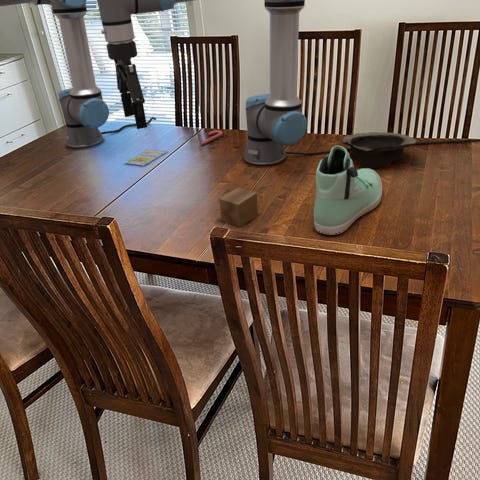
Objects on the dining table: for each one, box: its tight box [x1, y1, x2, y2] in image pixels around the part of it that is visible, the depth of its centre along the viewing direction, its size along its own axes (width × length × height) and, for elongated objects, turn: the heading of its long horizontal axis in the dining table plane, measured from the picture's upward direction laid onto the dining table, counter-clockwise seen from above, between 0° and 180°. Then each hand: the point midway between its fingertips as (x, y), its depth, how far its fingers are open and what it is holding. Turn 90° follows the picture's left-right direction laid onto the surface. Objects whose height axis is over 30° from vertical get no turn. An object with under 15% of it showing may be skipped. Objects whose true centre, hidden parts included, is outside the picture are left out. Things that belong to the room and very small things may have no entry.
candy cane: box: [200, 130, 224, 146], centre depth 198 cm, size 6×15×2 cm, turn 145°
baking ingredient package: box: [124, 149, 166, 166], centre depth 185 cm, size 9×1×15 cm
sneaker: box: [313, 145, 383, 236], centre depth 133 cm, size 14×35×20 cm, turn 152°
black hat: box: [341, 131, 418, 169], centre depth 166 cm, size 25×25×9 cm
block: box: [218, 187, 259, 228], centre depth 137 cm, size 7×8×7 cm
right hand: (135, 121), depth 135 cm, fingers open, 13 cm apart
